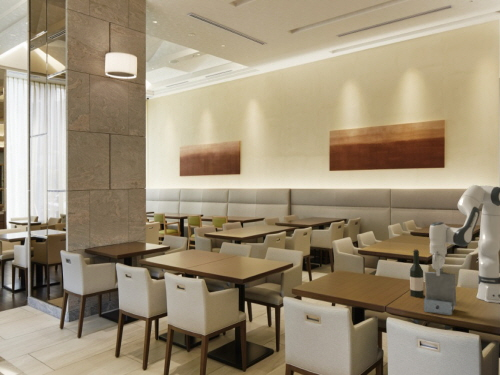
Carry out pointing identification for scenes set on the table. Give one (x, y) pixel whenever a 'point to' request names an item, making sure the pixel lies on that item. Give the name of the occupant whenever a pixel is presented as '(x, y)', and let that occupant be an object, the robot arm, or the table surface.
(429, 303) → the vise
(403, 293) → the table surface
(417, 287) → the wine bottle
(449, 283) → the grey rectangular slab
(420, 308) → the table surface
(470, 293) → the table surface
